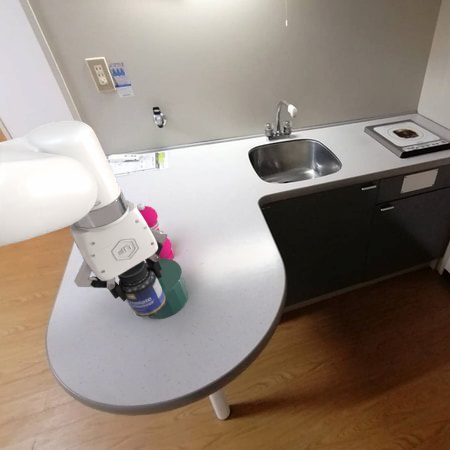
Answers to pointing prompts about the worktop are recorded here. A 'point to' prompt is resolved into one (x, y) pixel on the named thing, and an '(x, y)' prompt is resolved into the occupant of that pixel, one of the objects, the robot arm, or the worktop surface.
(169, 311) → the pot
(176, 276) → the pot lid
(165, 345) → the worktop surface
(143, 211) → the pepper mill
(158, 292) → the pill bottle
